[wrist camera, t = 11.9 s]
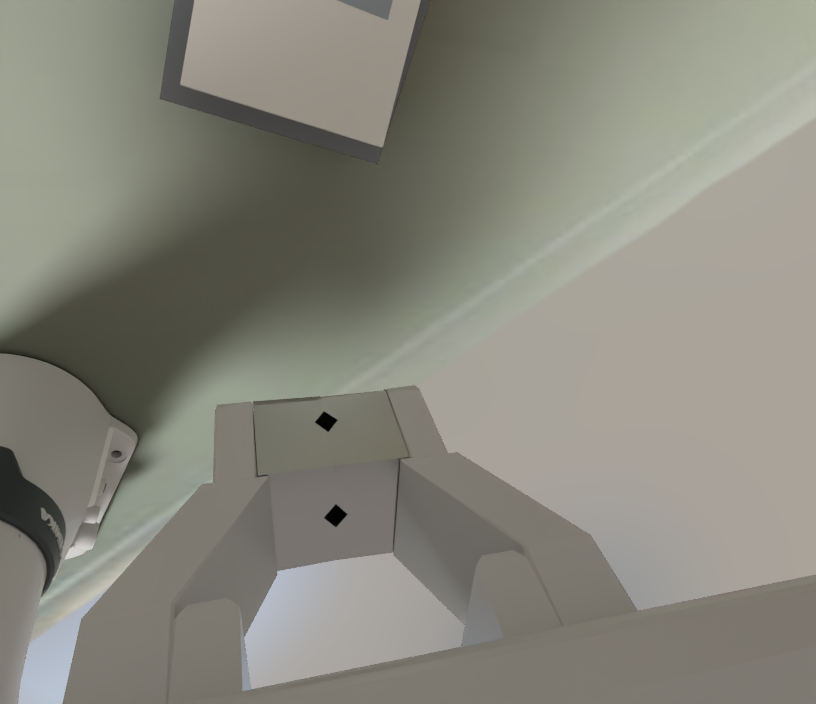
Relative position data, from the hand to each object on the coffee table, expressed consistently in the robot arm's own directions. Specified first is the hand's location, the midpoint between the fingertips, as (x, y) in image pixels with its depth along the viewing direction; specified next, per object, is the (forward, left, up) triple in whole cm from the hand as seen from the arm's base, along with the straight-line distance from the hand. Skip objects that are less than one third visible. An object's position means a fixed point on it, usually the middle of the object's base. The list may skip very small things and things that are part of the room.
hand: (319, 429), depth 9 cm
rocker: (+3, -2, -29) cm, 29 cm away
